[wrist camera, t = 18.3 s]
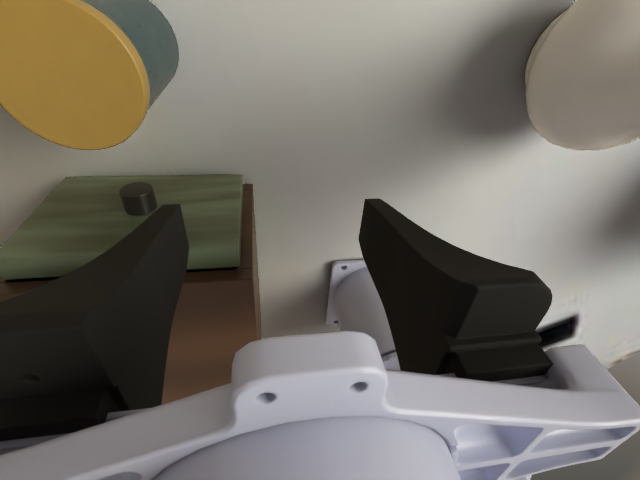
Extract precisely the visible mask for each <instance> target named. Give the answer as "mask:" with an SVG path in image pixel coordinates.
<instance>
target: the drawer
mask: <svg viewBox="0 0 640 480" xmlns="http://www.w3.org/2000/svg"><path fill="white" fill-rule="evenodd" d="M163 204H180V206H181V210H182V215H183V220H184V225H185V229H186V234H187V239H188V243H189V254H188V263H187V270H186V272H202V271H219V270H237V267H240V264H241V239H242V213H243V179H242V175H175V176H104V177H66V178H65V179H64V180H63V181H62V182H61V183H60V184H59V185H58V186H57V187H56V189H55V190H54V191H53V192H52V193H51V194H50V195H49V196H48V197H47V198H46V199H45V200H44V202H43V203H42V204H41V205H40V206H39V207H38V208H37V209H36V210H35V211H34V212H33V213H32V215H31V216H30V217H29V218H28V219H27V220H26V221H25V222H24V223H23V224H22V225H21V227H20V228H19V229H18V230H17V231H16V232H15V233H14V234H13V235H12V236H11V237H10V238H9V240H8V241H7V242H6V243H5V244H4V245H3V246H2V247H1V248H0V277H1V278H2V279H3V280H12V279H30V278H47V277H48V279H47V280H56V279H58V278H60V277H62V276H64V275H66V274H68V273H70V272H71V271H73V270H75V269H77V268H79V267H81V266H83V265H85V264H86V263H88V262H90V261H91V260H93V259H95V258H96V257H98V256H99V255H101V254H102V253H104V252H105V251H107V250H108V249H110V248H111V247H113V246H114V245H115V244H117V243H118V242H119V241H120V240H122V239H123V238H124V237H126V236H127V235H128V234H129V233H131V232H132V231H133V230H134V229H136V228H137V227H138V226H139V225H140V224H141V223H142V222H144V221H145V220H146V219H147V218H148V217H149V216H150V215H151V214H153V213H154V212H155V211H156V210H157V209H158V208H159V207H161V206H162V205H163Z"/></svg>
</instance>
